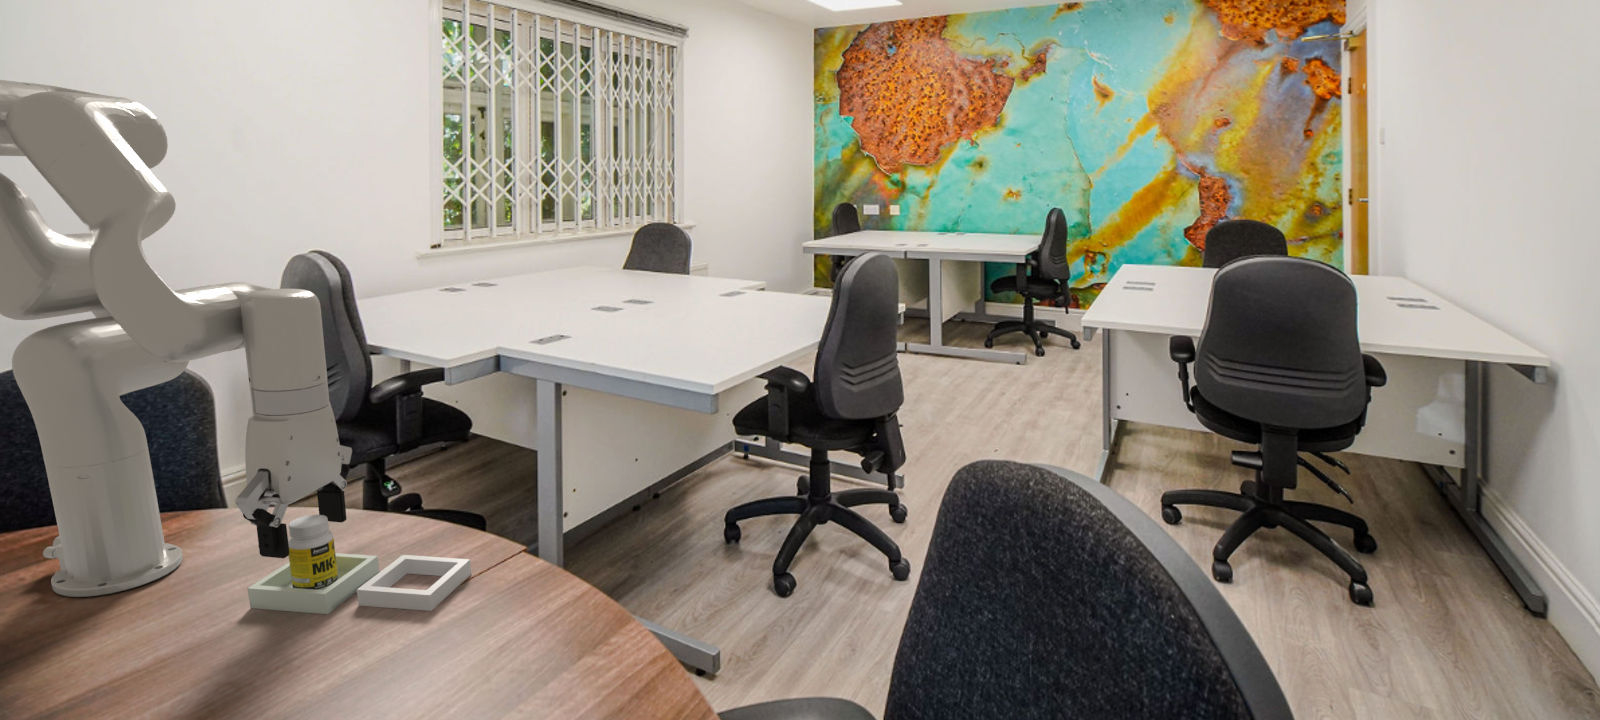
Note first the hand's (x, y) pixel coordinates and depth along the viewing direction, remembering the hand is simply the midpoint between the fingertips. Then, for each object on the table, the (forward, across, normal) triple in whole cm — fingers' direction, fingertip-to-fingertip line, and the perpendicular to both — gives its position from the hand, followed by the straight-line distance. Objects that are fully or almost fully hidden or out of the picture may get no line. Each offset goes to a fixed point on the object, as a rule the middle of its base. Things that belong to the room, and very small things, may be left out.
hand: (305, 537), depth 97 cm
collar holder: (+6, -2, +12) cm, 14 cm away
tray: (+7, 0, +1) cm, 7 cm away
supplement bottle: (+6, 0, +1) cm, 7 cm away
